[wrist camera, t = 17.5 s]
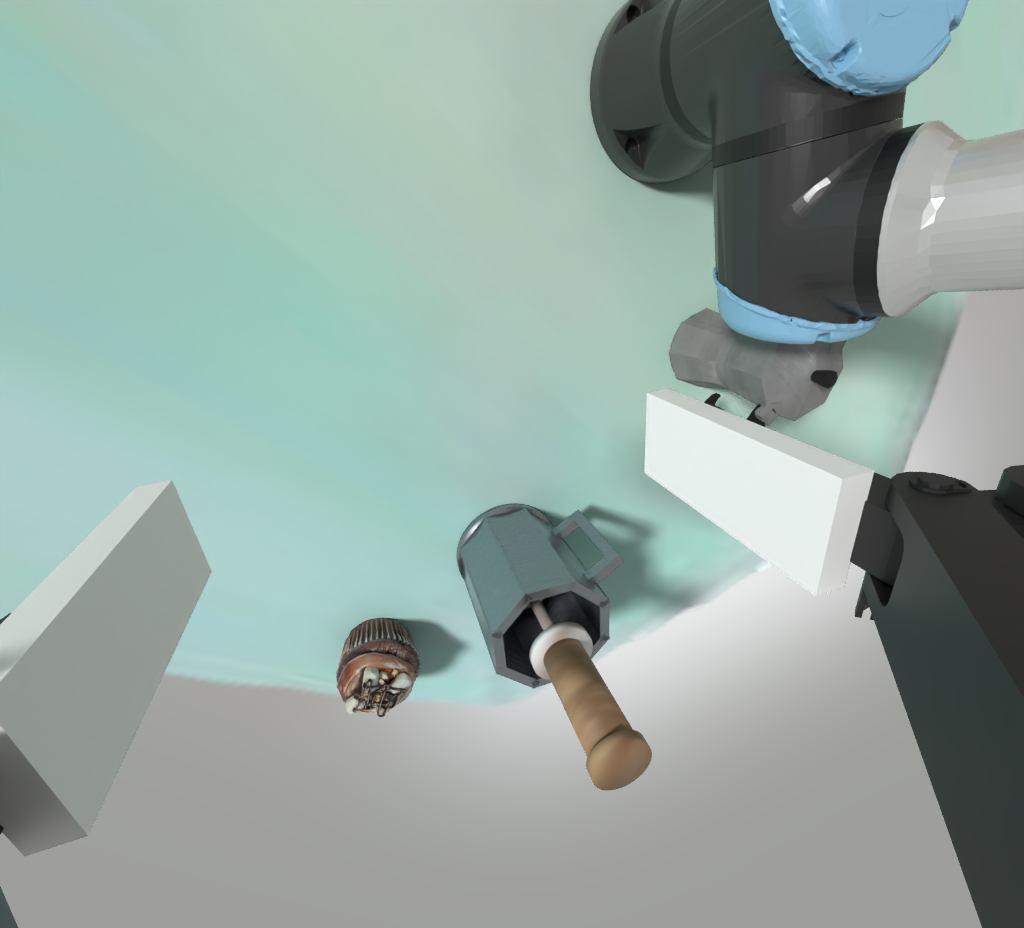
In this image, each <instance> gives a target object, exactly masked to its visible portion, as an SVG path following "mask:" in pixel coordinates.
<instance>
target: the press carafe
mask: <svg viewBox="0 0 1024 928" xmlns="http://www.w3.org/2000/svg"><path fill="white" fill-rule="evenodd" d="M578 527H580V528H581V529H582V531H583V532H584V533H585V534H586V535H587V536H588V538H589V539H590V540H591V541H592V542H593V544H594V545H595V546H596V547H597V548H598V549H599V551H600V552H601V553H602V554H603V555H604V557H603V558H602V559H601V560H599V561H598V562H597V563H596V564H594V565H593V566H592V567H591V568H589V569H588V570H586V568H585V567H584V566H583V564H582V563H581V562H580V560H579V559H578V558H577V557H576V555H575V554H574V553H573V551H572V550H571V549H570V547H569V546H568V545H567V543H566V542H565V541H564V538H565V537H566V536H568V535H569V534H570V533H571V532H573V531H574V530H575V529H576V528H578ZM623 562H624V561H623V559H622V558H621V557H620V555H619V554H618V553H617V552H616V551H615V550H614V549H613V547H612V546H611V545H610V544H609V543H608V542H607V541H606V540H605V539H604V538H603V536H602V535H601V534H600V533H599V532H598V531H597V530H596V529H595V528H594V527H593V525H592V524H591V523H590V522H589V521H588V520H587V519H586V518H585V517H584V515H583V514H582V513H581V512H580V511H579V510H577V511H576V512H574V513H573V514H572V515H571V516H569V517H567V518H566V519H565V520H564V521H562V522H561V523H560V524H559V525H557V526H556V527H554V526H553V525H552V524H551V522H550V521H549V520H548V518H547V517H546V516H545V515H544V514H543V513H542V512H540V511H539V510H537V509H535V508H534V507H531V506H528V505H524V504H506V505H501V506H497V507H494V508H492V509H490V510H488V511H486V512H484V513H482V514H481V515H480V516H478V517H477V518H476V519H475V520H473V521H472V522H471V524H470V525H469V526H468V527H467V528H466V530H465V531H464V533H463V535H462V537H461V539H460V541H459V544H458V548H457V563H458V567H459V570H460V573H461V575H462V577H463V579H464V580H465V584H466V587H467V590H468V593H469V596H470V598H471V601H472V604H473V607H474V610H475V613H476V616H477V619H478V622H479V625H480V628H481V630H482V633H483V636H484V639H485V642H486V645H487V648H488V651H489V654H490V657H491V659H492V662H493V665H494V668H495V671H496V673H497V674H499V675H502V676H504V677H507V678H509V679H512V680H514V681H517V682H519V683H522V684H524V685H527V686H529V687H532V688H536V687H539V686H542V685H545V684H548V683H551V682H552V681H551V680H546V679H543V678H541V677H540V676H538V675H537V674H536V672H535V670H534V668H533V666H532V664H531V661H530V657H529V653H530V649H531V646H532V644H533V642H534V640H535V639H536V638H537V636H538V635H539V634H540V633H542V632H543V629H542V627H541V625H540V623H539V621H538V619H537V617H536V615H535V613H534V611H533V609H532V607H530V608H527V609H525V608H526V606H527V605H528V604H529V603H530V602H533V601H536V600H540V599H543V598H544V599H543V600H542V601H541V602H542V604H543V606H544V608H545V609H546V611H547V613H548V615H549V617H550V618H551V620H552V622H553V624H554V625H555V624H558V623H562V622H574V623H577V624H579V625H581V626H582V627H584V629H585V630H586V631H587V633H588V635H589V636H590V638H591V640H592V643H593V650H592V654H591V656H590V659H592V658H593V656H594V655H595V654H596V653H597V652H598V651H599V650H600V648H601V647H602V646H603V645H604V644H605V643H606V642H607V640H609V638H610V637H609V599H608V598H607V596H606V595H605V594H604V592H603V591H602V590H601V588H600V587H599V586H598V583H599V582H601V581H602V580H603V579H604V578H606V577H607V576H608V575H609V574H611V573H612V572H613V571H614V570H616V568H617V567H618V566H620V565H621V564H622V563H623Z"/></svg>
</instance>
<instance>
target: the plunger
mask: <svg viewBox="0 0 1024 928" xmlns="http://www.w3.org/2000/svg"><path fill="white" fill-rule="evenodd" d="M543 599H544V598H543ZM543 599H540V600H536V601H533V602H530V603H529V604H528V605H527V606H526V608H525V609H527V608H530V607H532V609H533V611H534V613H535V615H536V617H537V619H538V621H539V623H540V625H541V627H542V629H543V632H542V633H540V634H539V635H538V636H537V638H536V639H535V640H534V642H533V644H532V646H531V649H530V653H529V657H530V661H531V664H532V666H533V668H534V670H535V672H536V674H537V675H538V676H540V677H541V678H543V679H546V680H551V681H552V683H553V685H554V687H555V689H556V692H557V694H558V696H559V698H560V700H561V702H562V704H563V706H564V709H565V711H566V713H567V715H568V717H569V719H570V721H571V723H572V725H573V727H574V730H575V732H576V734H577V736H578V738H579V740H580V742H581V745H582V747H583V749H584V751H585V753H586V755H587V757H588V758H587V762H586V767H587V770H588V772H589V774H590V777H591V779H592V781H593V783H594V785H595V786H596V787H597V788H599V789H601V790H614V789H618V788H621V787H624V786H626V785H628V784H630V783H631V782H633V781H634V780H635V779H637V778H638V777H639V776H640V775H641V774H642V773H643V772H644V771H645V770H646V768H647V767H648V765H649V763H650V761H651V757H652V752H651V749H650V747H649V745H648V744H647V742H646V740H645V739H644V737H643V736H642V734H641V733H639V732H638V731H634V730H633V729H632V728H631V726H630V724H629V723H628V721H627V719H626V718H625V716H624V714H623V712H622V711H621V709H620V707H619V706H618V704H617V702H616V701H615V699H614V697H613V696H612V694H611V692H610V691H609V689H608V687H607V686H606V684H605V682H604V681H603V679H602V677H601V676H600V674H599V672H598V671H597V669H596V667H595V665H594V664H593V662H592V660H591V659H590V656H591V654H592V650H593V643H592V640H591V638H590V636H589V635H588V633H587V631H586V630H585V629H584V627H582V626H581V625H579V624H577V623H574V622H562V623H558V624H555V625H554V624H553V622H552V620H551V618H550V617H549V615H548V613H547V611H546V609H545V608H544V606H543V604H542V602H541V601H542V600H543Z"/></svg>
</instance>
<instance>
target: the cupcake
mask: <svg viewBox="0 0 1024 928" xmlns="http://www.w3.org/2000/svg"><path fill="white" fill-rule="evenodd" d="M420 664H421V662H420V658H419V654H418V652H417V650H416V648H415V647H414V645H413V642H412V640H411V638H410V635H409V633H408V630H407V628H406V627H404V626H403V624H402V623H400V622H398V621H397V620H390V619H385V618H376V619H370V620H367V621H365V622H363V623H361V624H359V625H358V626H357V627H355V628H354V629H352V631H351V632H350V634H349V637H348V638H347V640H346V642H345V644H344V648H343V652H342V655H341V658H340V662H339V665H338V669H337V672H336V674H337V683H338V684H337V685H336V686H337V688H338V690H339V692H340V694H341V697H342V699H343V701H344V702H345V703H346V705H345V709H346V711H347V712H348V713H349V714H353V713H356V712H358V711H362V712H377V714H378V716H380V717H383V716H385V713H386V712H389V710H390V709H391V708H393V707H394V706H395V705H397V704H399V703H401V702H402V701H404V700H405V699H406V698H407V697H408V695H409V694H410V692H411V690H412V687H413V684H414V681H415V680H416V677H418V673H419V672H420V671H419V669H421V668H420V666H419V665H420Z"/></svg>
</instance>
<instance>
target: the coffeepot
mask: <svg viewBox="0 0 1024 928" xmlns="http://www.w3.org/2000/svg"><path fill="white" fill-rule="evenodd" d="M845 342H846V340H845V341H839V342H831V343H828V342H823V341H815V342H814V343H813V344H785V343H776V342H768V341H763V340H758V339H754V338H751V337H747V336H745V335H742V334H740V333H738V332H736V331H734V330H733V329H731V328H730V327H729V326H728V325H727V323H726V322H725V321H724V320H723V319H722V318H721V316H720V313H717V312H715V311H712V310H710V309H705V310H703V311H701V312H699V313H697V314H695V315H692V316H691V317H690V318H688V319H687V320H686V321H684V322H682V323H681V325H680V327H679V328H678V330H677V332H676V334H675V336H674V338H673V341H672V344H671V349H670V351H669V355H670V361H671V366H672V368H673V371H674V372H675V375H676V378H677V379H679V380H682V381H685V382H688V383H691V384H693V385H696V386H702V387H712V388H722V389H730V390H732V391H734V392H736V393H737V394H739V395H741V396H743V397H744V398H746V399H748V400H749V401H751V402H753V403H755V404H756V405H757V406H756V408H755V409H754V410H753V411H752V413H751V414H750V415H749V417H748V418H747V420H748V421H751V422H753V423H756V424H758V425H761V426H763V427H764V426H765V425H768V426H769V425H770V424H771V423H772V421H773V420H774V419H775V418H776V417H777V416H778V415H779V416H782V417H784V418H787V419H790V420H793V421H795V420H797V419H798V418H800V417H802V416H803V415H805V414H807V413H808V412H810V411H812V410H813V409H815V408H817V407H818V406H820V405H822V404H823V403H825V401H826V399H827V397H828V395H829V393H830V391H831V389H832V388H833V386H834V384H835V383H836V381H837V379H838V376H839V375H840V373H841V371H842V369H843V360H842V348H843V346H844V344H845ZM720 396H721V395H720V394H717V393H715V394H712V395H711V396H710V397H709V398H708V399H707V400H706V401H705V402H704V403H706V404H708V405H711V406H713V407H716V408H718V409H721V408H719V407H717V406H715V403H716V401H717V400H718V398H719V397H720ZM721 410H722V409H721Z"/></svg>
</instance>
